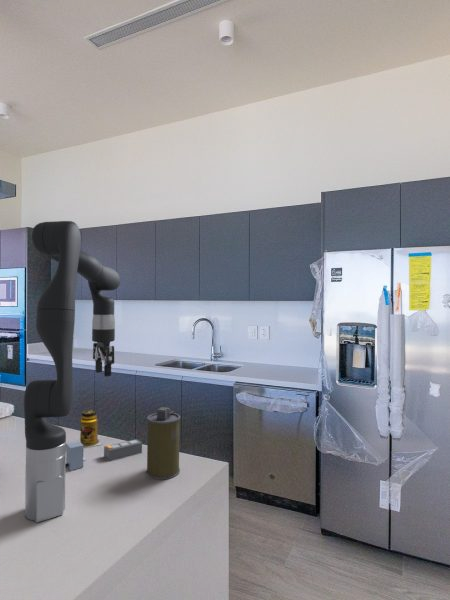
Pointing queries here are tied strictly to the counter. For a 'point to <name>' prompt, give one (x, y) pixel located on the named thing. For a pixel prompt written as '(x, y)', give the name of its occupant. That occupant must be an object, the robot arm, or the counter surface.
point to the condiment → (89, 429)
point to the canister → (163, 444)
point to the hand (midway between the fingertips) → (103, 374)
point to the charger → (74, 455)
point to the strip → (122, 449)
